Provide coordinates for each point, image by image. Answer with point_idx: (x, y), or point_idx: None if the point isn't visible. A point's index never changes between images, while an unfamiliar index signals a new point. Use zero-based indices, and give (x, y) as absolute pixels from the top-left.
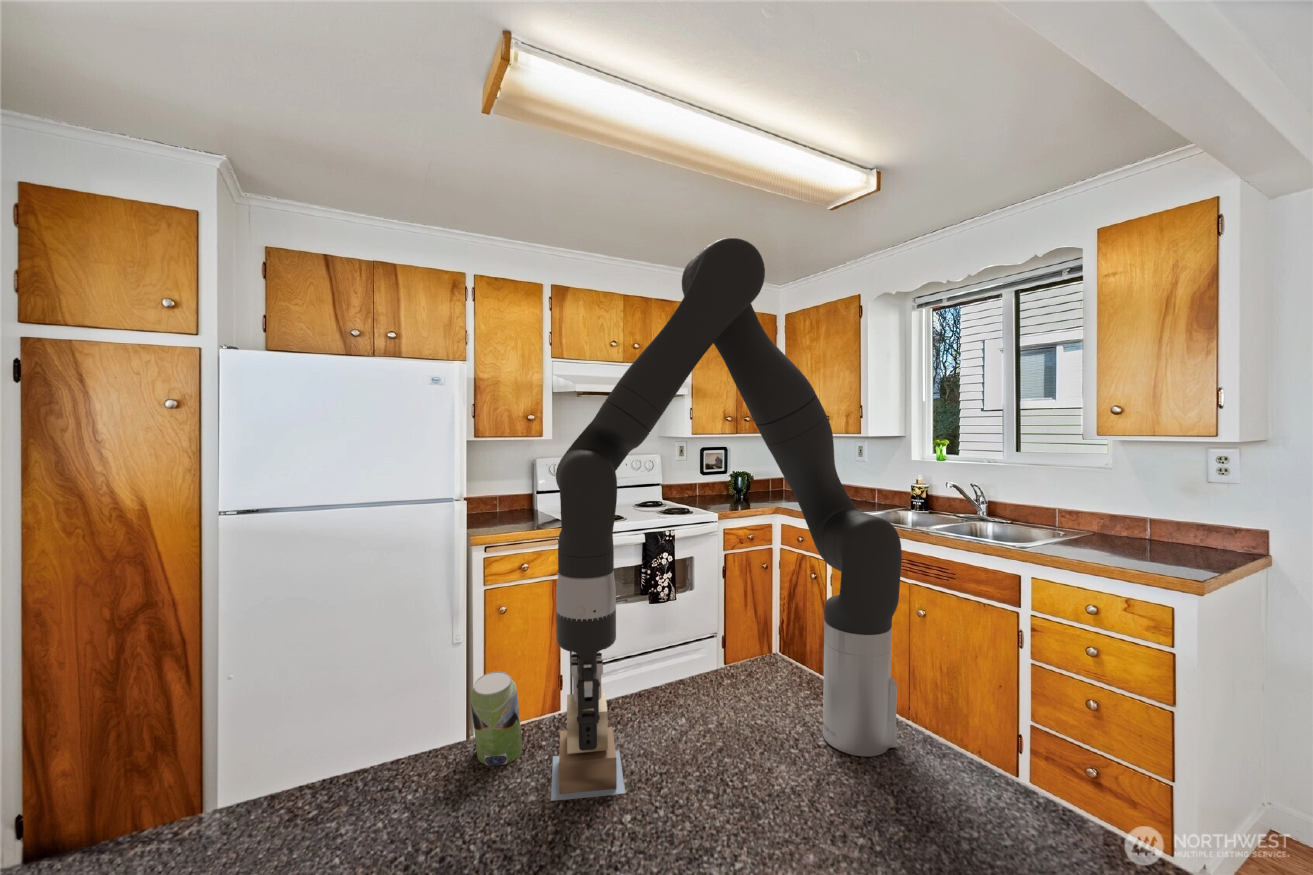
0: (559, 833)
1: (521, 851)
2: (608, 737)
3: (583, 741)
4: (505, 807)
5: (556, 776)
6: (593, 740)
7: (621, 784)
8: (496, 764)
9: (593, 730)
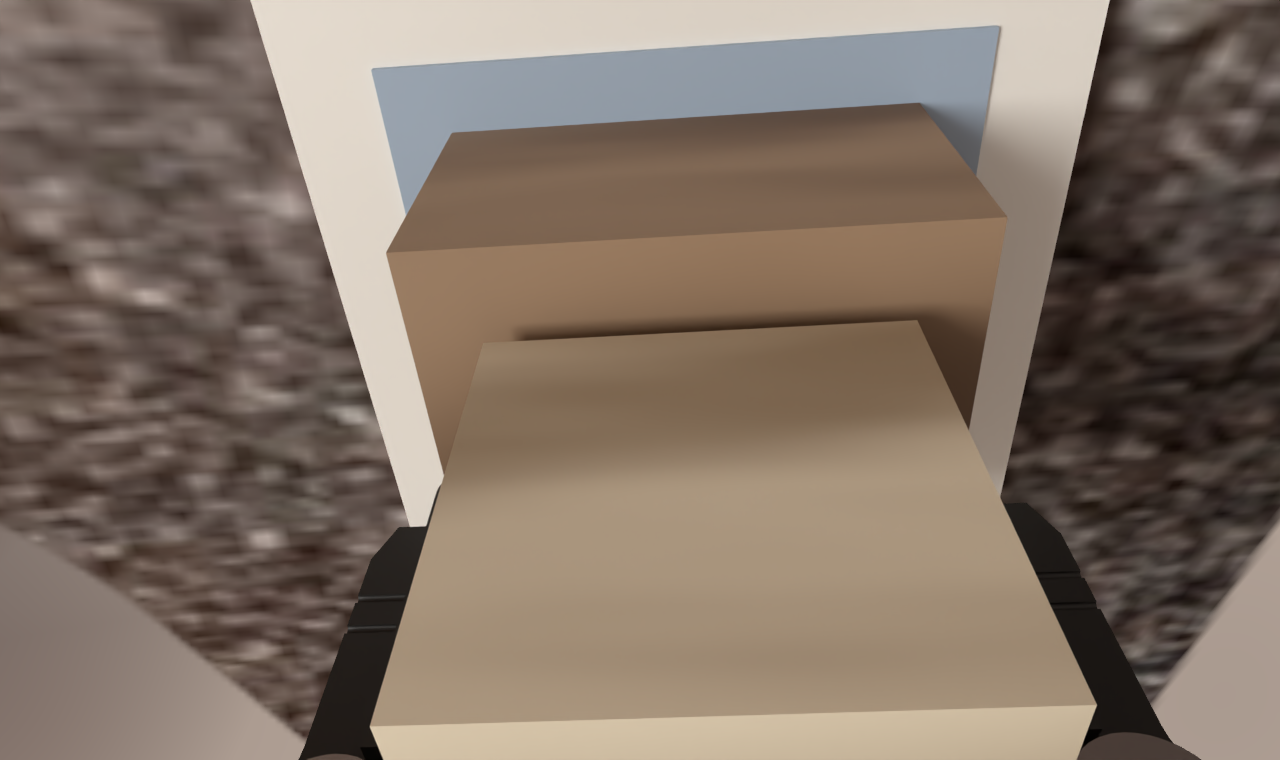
0: (1125, 412)
1: (1176, 551)
2: (612, 294)
3: None
4: None
5: None
6: (1079, 571)
7: (875, 59)
8: None
9: (1124, 669)
